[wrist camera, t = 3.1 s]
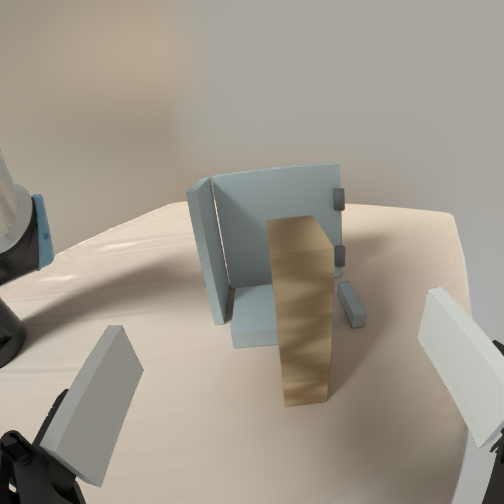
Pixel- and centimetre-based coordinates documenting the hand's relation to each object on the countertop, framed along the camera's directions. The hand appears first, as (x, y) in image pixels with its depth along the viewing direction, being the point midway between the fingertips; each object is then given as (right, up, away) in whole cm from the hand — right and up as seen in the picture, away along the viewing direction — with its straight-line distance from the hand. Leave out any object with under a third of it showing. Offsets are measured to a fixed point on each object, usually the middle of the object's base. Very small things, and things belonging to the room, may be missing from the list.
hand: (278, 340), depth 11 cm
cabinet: (+4, -4, +28) cm, 29 cm away
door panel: (+4, -9, +16) cm, 19 cm away
